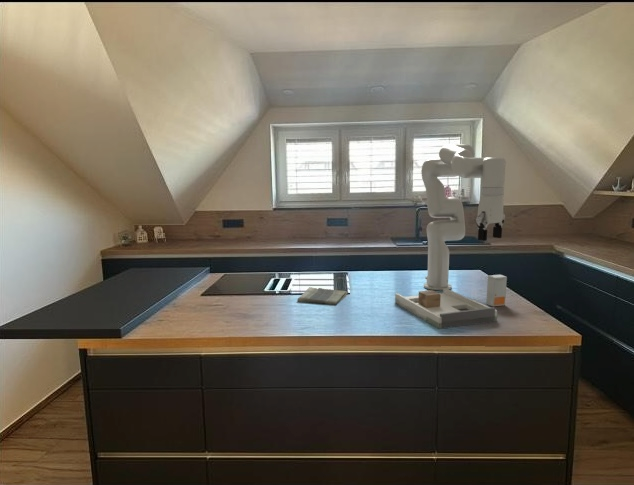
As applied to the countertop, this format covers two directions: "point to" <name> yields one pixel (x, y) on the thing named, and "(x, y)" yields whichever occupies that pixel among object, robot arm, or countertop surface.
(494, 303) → the skincare box
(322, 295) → the dish towel
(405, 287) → the countertop surface
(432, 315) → the box
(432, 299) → the block
